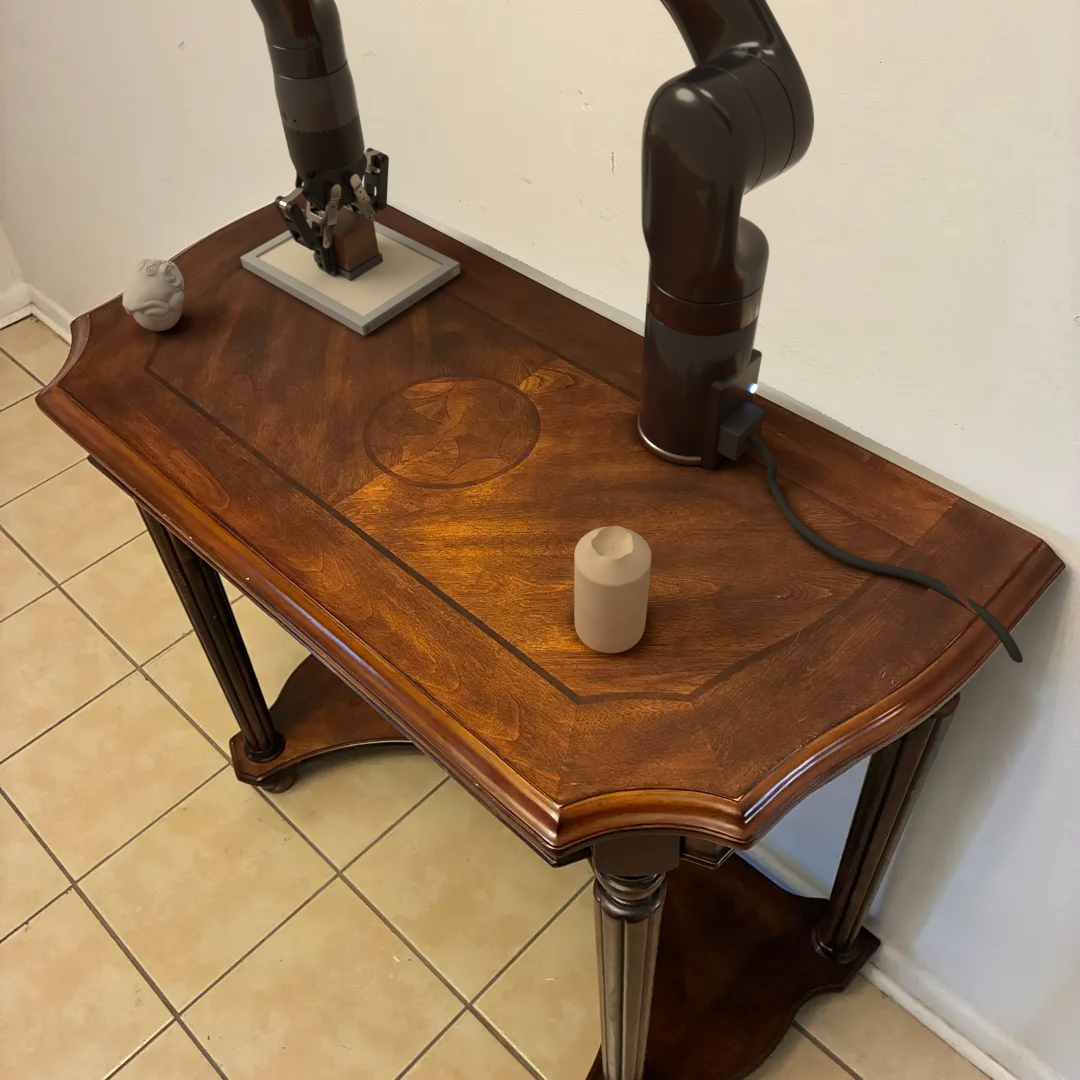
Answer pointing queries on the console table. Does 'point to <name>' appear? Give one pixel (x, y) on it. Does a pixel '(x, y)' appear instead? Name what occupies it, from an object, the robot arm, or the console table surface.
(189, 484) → the console table surface
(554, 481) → the console table surface
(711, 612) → the console table surface
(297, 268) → the whiteboard
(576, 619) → the candle
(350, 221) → the eraser
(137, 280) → the frog figurine
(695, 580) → the console table surface
